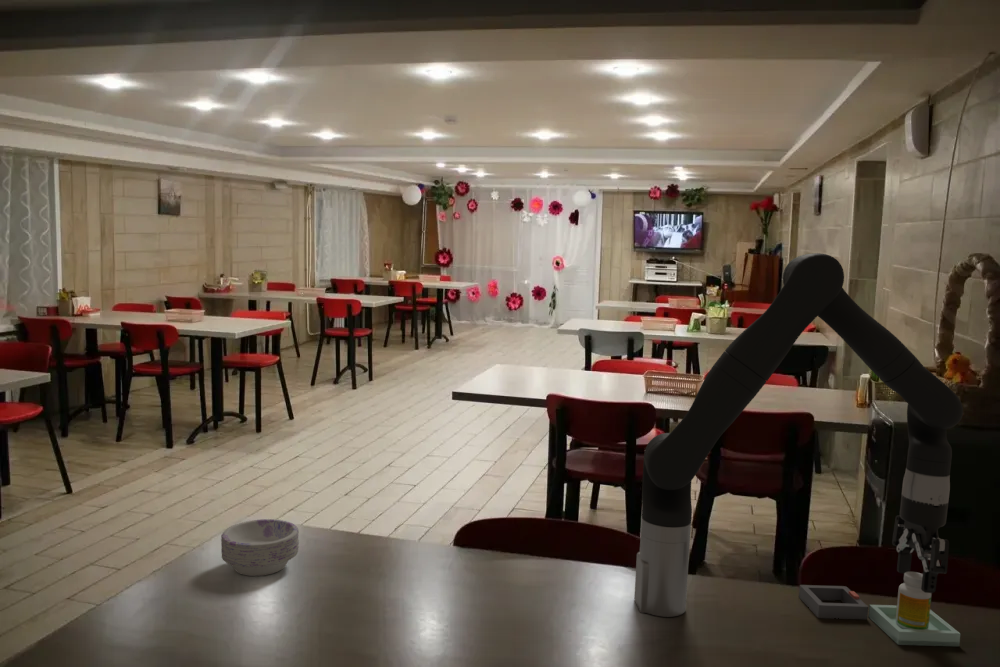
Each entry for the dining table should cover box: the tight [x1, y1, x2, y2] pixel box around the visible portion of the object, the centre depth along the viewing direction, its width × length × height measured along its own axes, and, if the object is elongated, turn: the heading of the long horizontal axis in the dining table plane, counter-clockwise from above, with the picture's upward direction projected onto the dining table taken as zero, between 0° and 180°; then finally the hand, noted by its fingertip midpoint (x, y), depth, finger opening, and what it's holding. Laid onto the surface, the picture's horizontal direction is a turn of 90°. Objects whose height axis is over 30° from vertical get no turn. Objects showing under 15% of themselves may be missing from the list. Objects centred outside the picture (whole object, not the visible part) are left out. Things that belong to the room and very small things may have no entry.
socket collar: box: [798, 584, 869, 620], centre depth 156 cm, size 9×9×3 cm
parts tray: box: [867, 604, 961, 647], centre depth 147 cm, size 11×11×2 cm
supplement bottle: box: [896, 571, 932, 630], centre depth 147 cm, size 5×5×10 cm
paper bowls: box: [220, 518, 300, 577], centre depth 164 cm, size 15×15×8 cm
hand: (915, 582), depth 146 cm, fingers open, 8 cm apart
